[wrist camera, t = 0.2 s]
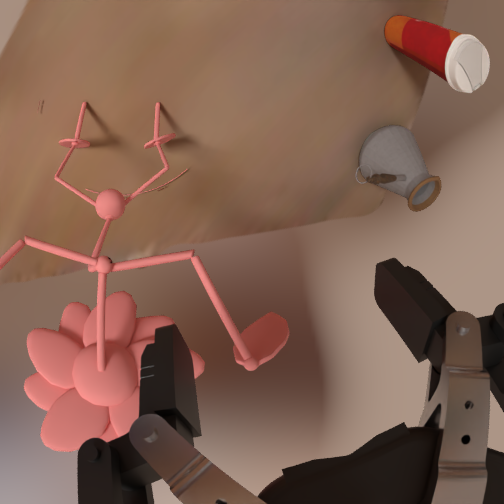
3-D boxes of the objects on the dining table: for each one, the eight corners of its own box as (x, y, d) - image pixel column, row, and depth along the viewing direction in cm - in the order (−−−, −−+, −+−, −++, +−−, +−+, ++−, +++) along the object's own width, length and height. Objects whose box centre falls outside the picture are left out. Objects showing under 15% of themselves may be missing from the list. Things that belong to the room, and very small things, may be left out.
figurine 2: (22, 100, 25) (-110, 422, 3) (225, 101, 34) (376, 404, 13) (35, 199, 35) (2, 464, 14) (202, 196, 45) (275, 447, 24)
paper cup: (424, 42, 31) (495, 80, 23) (390, 63, 34) (459, 107, 26) (406, 0, 26) (486, 28, 17) (369, 21, 29) (446, 53, 20)
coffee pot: (415, 132, 45) (471, 185, 36) (382, 179, 53) (428, 237, 43) (327, 81, 35) (396, 135, 26) (290, 148, 42) (337, 218, 33)
